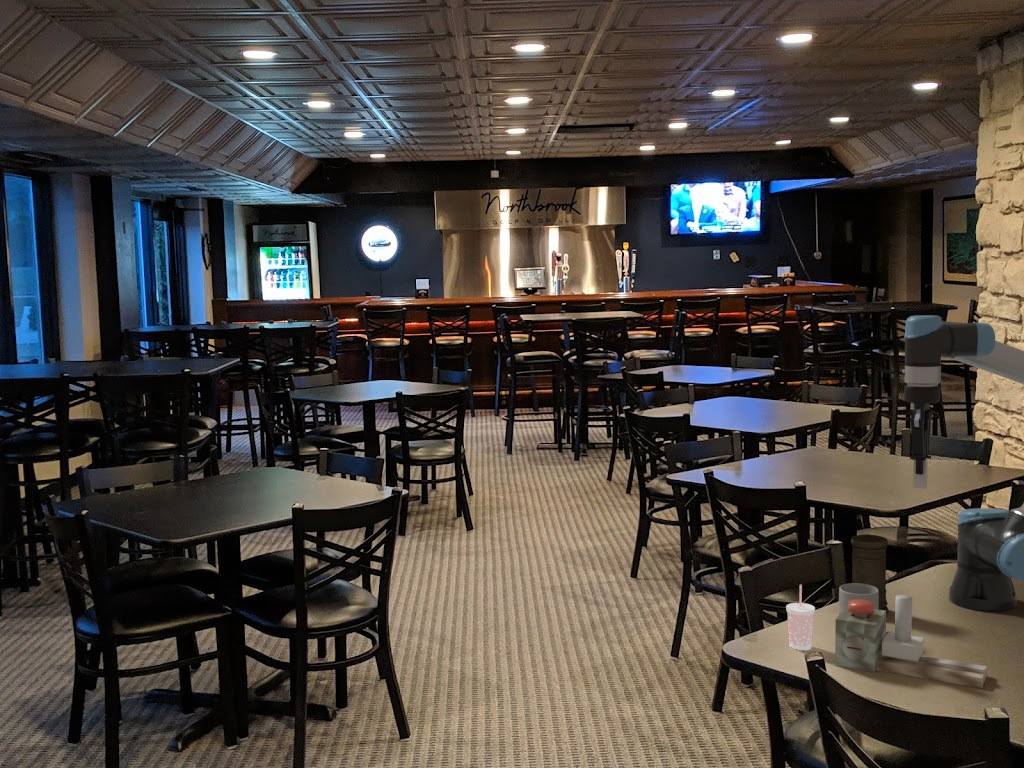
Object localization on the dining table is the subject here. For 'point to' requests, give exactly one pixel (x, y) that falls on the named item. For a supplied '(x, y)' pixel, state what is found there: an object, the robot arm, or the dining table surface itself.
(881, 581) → the container
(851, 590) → the mug
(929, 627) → the dining table surface
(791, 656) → the dining table surface
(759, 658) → the dining table surface
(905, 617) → the carriage
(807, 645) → the beverage cup
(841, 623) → the rail rig
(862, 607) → the button
